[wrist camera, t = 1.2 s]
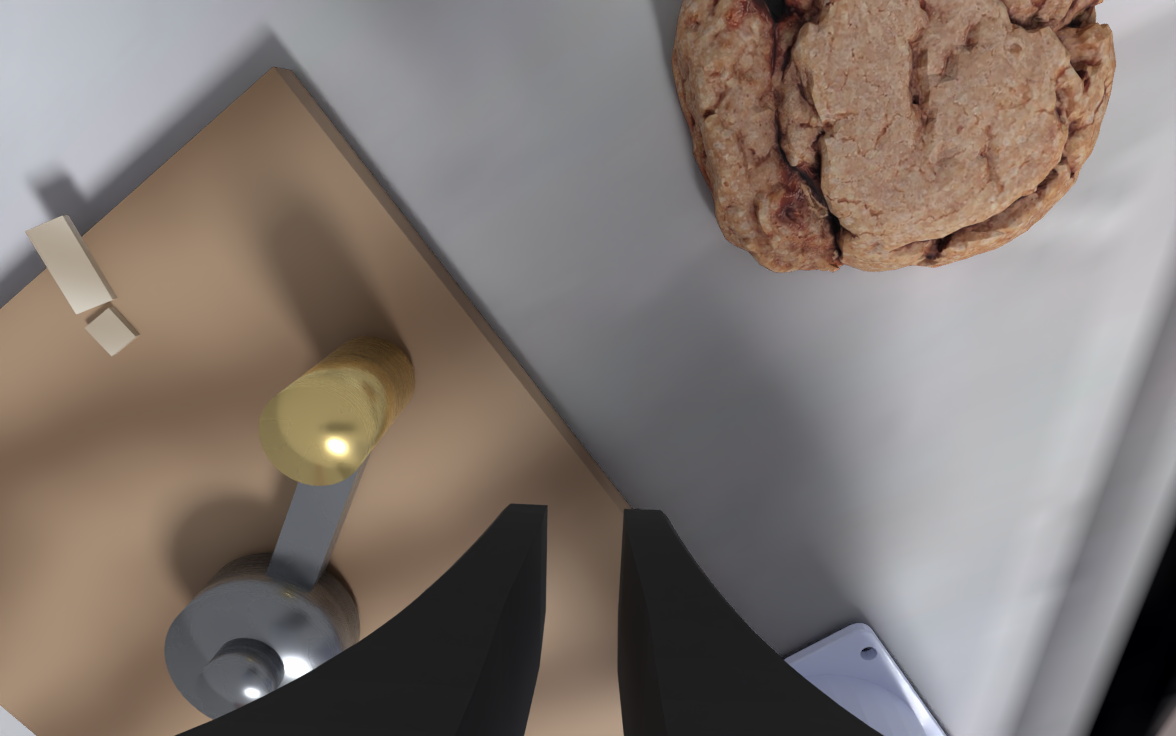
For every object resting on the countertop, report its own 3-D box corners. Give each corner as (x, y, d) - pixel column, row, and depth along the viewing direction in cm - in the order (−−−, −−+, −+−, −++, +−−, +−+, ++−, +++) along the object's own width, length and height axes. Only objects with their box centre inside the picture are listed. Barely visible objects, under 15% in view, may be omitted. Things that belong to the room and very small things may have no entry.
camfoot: (333, 704, 23) (277, 817, 19) (187, 649, 22) (99, 754, 18) (471, 377, 19) (436, 437, 15) (299, 301, 18) (217, 344, 15)
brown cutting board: (770, 687, 24) (778, 715, 22) (305, 924, 28) (292, 957, 27) (267, 38, 18) (242, 32, 16) (-218, 476, 22) (-263, 494, 21)
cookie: (1006, 301, 19) (1074, 329, 17) (635, 244, 19) (639, 263, 16) (1150, -107, 16) (1265, -158, 13) (707, -179, 16) (727, -246, 13)
